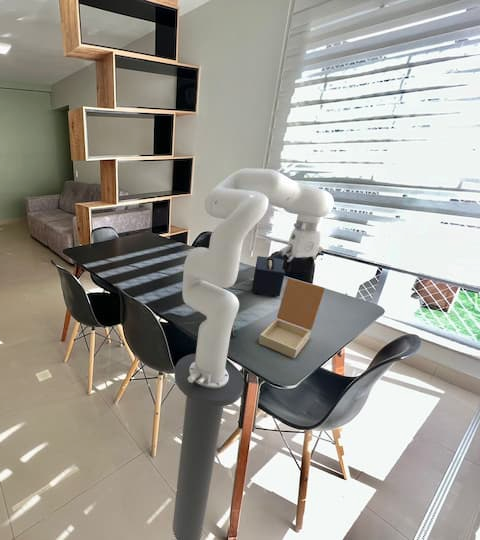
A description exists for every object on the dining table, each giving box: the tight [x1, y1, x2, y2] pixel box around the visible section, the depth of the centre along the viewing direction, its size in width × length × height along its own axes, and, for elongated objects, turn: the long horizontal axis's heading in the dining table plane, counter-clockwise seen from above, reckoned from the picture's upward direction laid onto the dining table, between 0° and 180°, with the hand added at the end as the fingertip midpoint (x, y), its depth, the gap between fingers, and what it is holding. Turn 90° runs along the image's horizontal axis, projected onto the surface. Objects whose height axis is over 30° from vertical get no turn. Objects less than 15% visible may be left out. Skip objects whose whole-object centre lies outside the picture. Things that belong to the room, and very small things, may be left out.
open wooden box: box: [257, 318, 312, 359], centre depth 110 cm, size 17×13×4 cm
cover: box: [276, 277, 326, 331], centre depth 113 cm, size 17×13×1 cm
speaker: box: [251, 255, 286, 298], centre depth 152 cm, size 22×13×15 cm, turn 154°
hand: (296, 269), depth 111 cm, fingers open, 9 cm apart
